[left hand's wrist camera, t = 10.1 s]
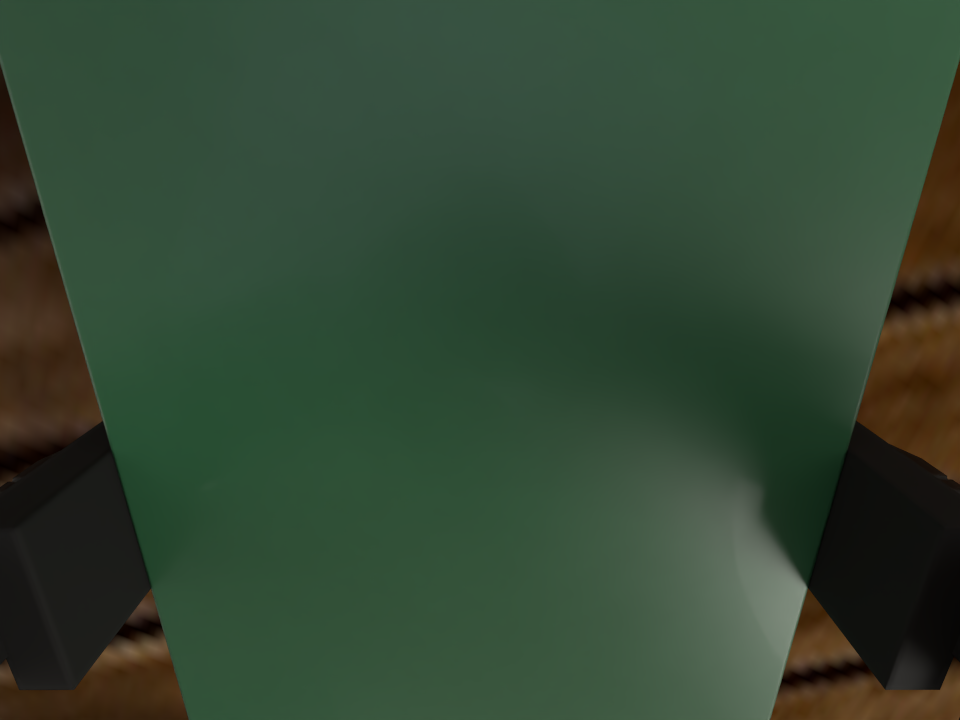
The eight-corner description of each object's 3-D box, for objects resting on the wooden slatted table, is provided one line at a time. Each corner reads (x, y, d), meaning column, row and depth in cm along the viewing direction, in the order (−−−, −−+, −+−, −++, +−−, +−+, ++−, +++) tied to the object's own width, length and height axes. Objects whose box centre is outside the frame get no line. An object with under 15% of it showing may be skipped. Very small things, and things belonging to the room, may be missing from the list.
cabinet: (239, -339, 13) (-642, -2131, 3) (718, -339, 13) (1593, -2113, 3) (330, 446, 20) (189, 732, 10) (627, 446, 20) (770, 731, 10)
